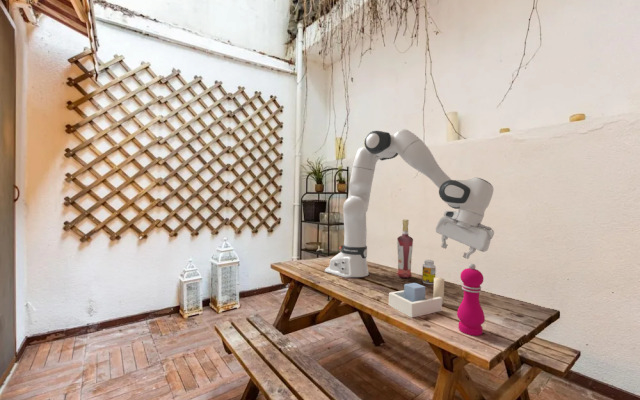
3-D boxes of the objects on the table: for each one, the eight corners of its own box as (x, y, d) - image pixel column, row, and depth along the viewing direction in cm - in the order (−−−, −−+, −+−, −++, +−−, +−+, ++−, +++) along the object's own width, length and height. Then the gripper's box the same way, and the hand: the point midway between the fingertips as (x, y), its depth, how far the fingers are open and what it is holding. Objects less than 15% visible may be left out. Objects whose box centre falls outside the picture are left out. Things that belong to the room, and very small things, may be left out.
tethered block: (414, 311, 97) (414, 285, 97) (403, 306, 101) (404, 281, 101) (447, 304, 104) (448, 280, 104) (436, 299, 109) (437, 276, 108)
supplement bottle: (419, 281, 132) (420, 259, 132) (429, 280, 134) (430, 259, 134) (427, 285, 127) (428, 262, 127) (437, 284, 128) (438, 261, 128)
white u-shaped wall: (411, 317, 92) (411, 303, 92) (388, 305, 102) (388, 292, 102) (441, 310, 98) (441, 297, 98) (416, 299, 108) (417, 287, 108)
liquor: (413, 279, 135) (415, 220, 134) (397, 278, 135) (399, 220, 135) (410, 275, 142) (411, 219, 141) (395, 274, 143) (396, 219, 142)
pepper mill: (455, 323, 89) (457, 259, 88) (482, 327, 86) (484, 262, 86) (457, 333, 82) (459, 264, 82) (486, 338, 79) (488, 267, 79)
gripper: (499, 230, 103) (484, 265, 104) (448, 213, 119) (436, 243, 120) (492, 227, 99) (476, 263, 100) (441, 210, 115) (427, 241, 116)
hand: (454, 252), depth 110 cm, fingers open, 8 cm apart
